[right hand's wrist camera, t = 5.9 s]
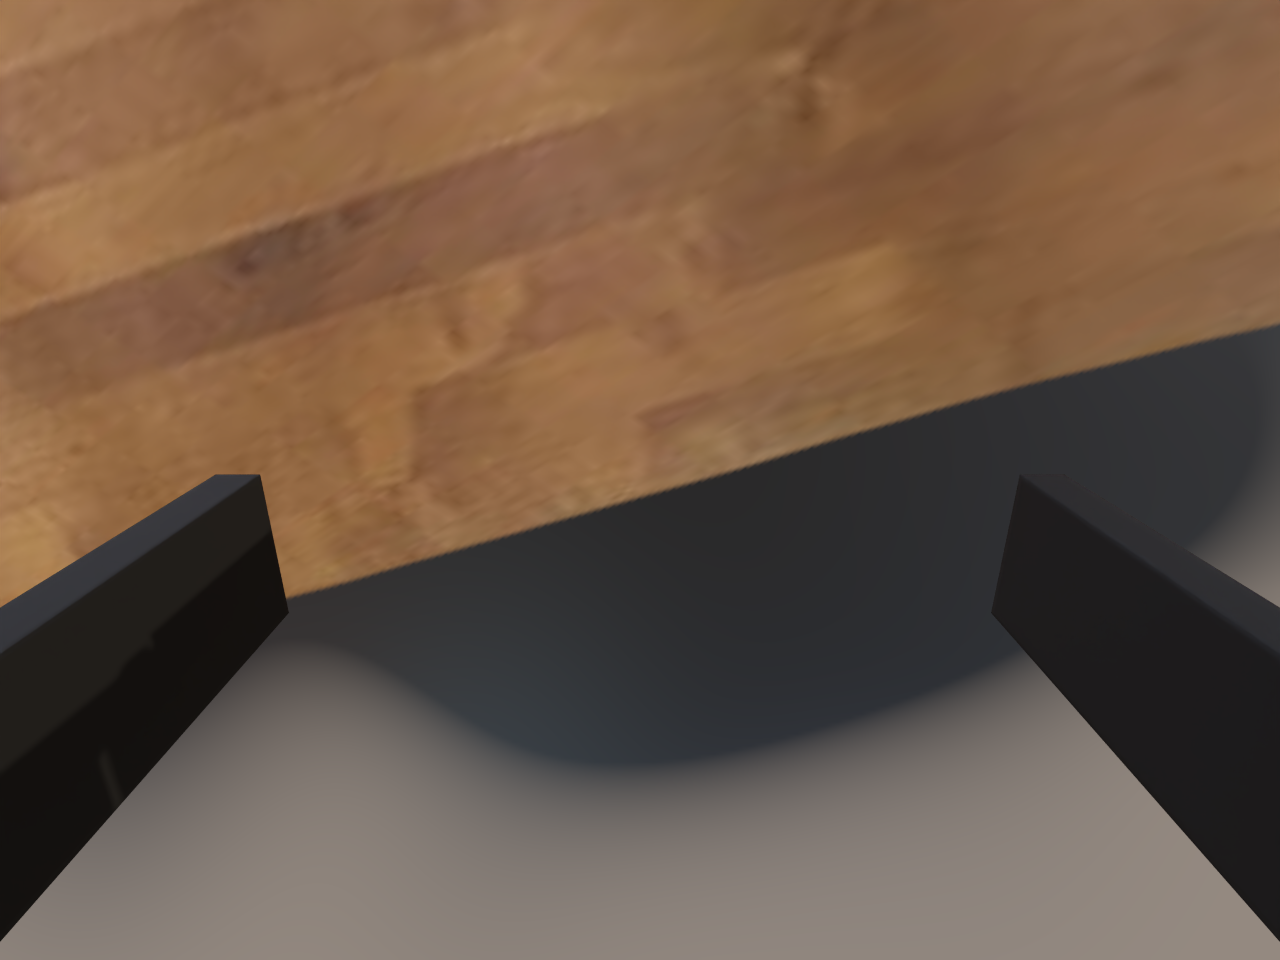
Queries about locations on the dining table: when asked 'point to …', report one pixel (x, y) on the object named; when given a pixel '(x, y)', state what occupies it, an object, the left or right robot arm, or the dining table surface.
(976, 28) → the dining table surface
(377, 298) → the dining table surface
